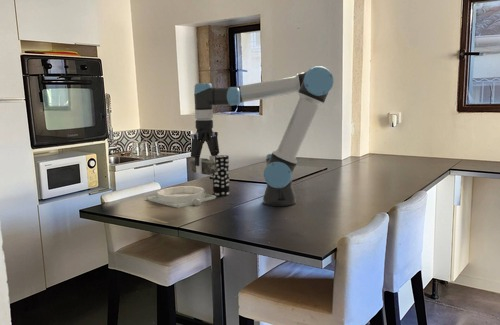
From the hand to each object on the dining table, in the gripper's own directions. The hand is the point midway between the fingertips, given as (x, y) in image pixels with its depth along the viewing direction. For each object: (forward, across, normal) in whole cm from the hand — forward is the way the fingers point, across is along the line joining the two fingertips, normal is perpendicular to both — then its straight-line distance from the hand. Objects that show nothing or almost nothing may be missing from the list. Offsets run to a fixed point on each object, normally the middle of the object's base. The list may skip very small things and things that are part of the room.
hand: (205, 171), depth 202 cm
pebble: (+17, -1, -8) cm, 19 cm away
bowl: (+17, -4, -23) cm, 29 cm away
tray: (+17, -4, -23) cm, 29 cm away
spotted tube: (+17, -23, -15) cm, 32 cm away
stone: (+1, 0, -1) cm, 1 cm away
